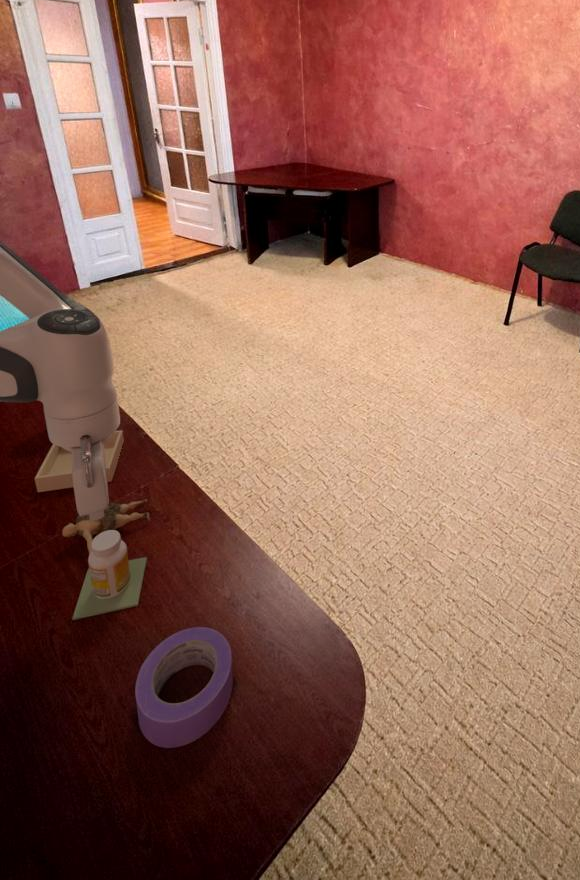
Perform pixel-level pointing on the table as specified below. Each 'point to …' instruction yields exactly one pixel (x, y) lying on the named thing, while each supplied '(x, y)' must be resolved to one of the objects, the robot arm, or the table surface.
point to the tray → (59, 465)
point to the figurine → (104, 521)
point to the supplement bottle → (108, 565)
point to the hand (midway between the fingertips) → (95, 495)
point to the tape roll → (197, 714)
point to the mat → (126, 599)
